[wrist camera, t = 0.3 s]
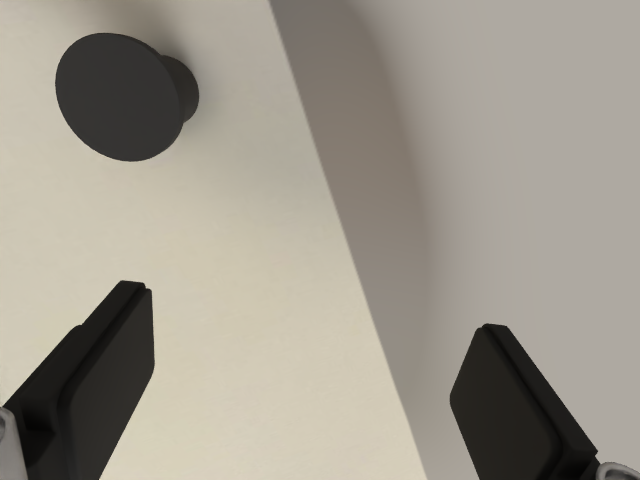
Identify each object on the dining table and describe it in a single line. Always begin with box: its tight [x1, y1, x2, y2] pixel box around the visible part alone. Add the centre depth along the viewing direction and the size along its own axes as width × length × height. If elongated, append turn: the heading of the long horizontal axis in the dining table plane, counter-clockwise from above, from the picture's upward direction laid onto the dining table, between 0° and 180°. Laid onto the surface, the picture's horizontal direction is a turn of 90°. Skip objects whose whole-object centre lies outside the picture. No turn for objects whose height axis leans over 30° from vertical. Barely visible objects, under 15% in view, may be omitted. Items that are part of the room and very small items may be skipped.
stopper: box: [55, 33, 199, 162], centre depth 20 cm, size 6×6×6 cm
